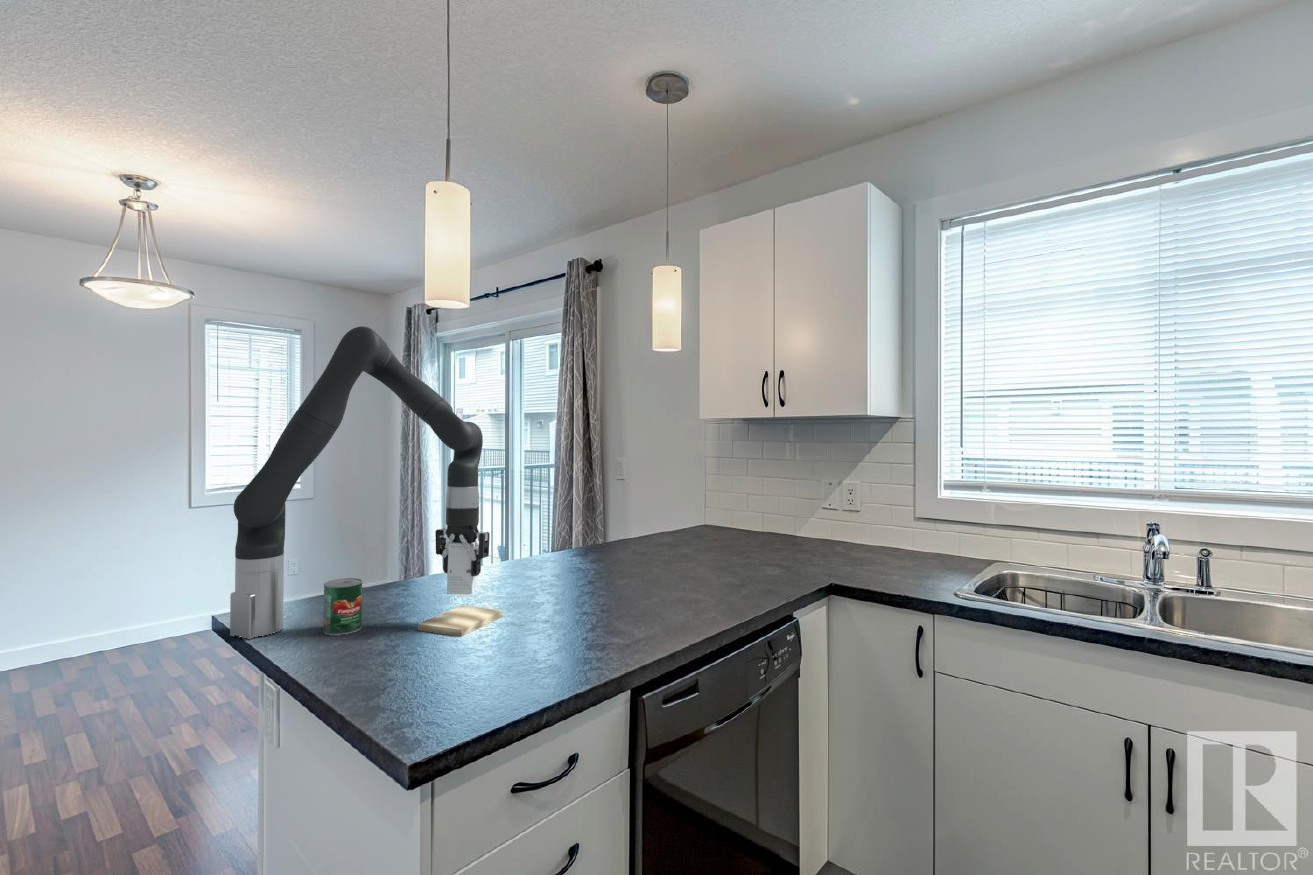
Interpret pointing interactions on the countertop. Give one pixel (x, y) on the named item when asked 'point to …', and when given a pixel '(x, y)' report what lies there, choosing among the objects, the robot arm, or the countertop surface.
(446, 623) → the birch board
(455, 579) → the skincare box
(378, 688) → the countertop surface
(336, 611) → the canned tomato
